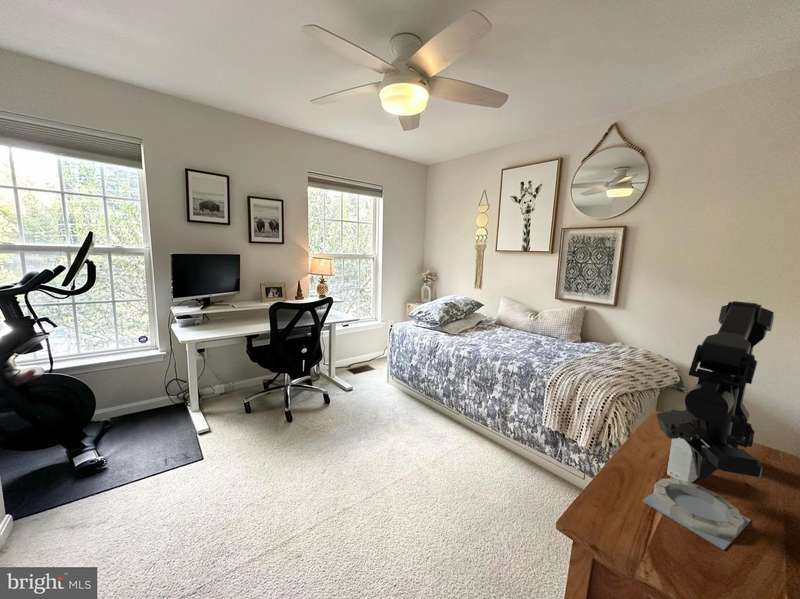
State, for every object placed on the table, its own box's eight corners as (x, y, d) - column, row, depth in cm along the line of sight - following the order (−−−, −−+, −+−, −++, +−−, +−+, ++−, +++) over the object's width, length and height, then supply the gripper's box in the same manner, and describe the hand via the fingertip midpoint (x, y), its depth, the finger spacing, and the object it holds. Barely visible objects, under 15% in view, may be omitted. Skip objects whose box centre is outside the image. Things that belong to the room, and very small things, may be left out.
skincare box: (688, 486, 75) (697, 437, 73) (665, 474, 78) (672, 427, 77) (699, 477, 78) (708, 430, 76) (676, 466, 82) (684, 421, 80)
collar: (671, 479, 76) (672, 472, 76) (750, 520, 65) (752, 512, 64) (642, 499, 70) (643, 490, 69) (725, 548, 58) (727, 538, 58)
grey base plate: (672, 480, 76) (672, 479, 76) (750, 521, 65) (750, 519, 65) (641, 501, 69) (642, 500, 69) (723, 550, 58) (724, 549, 58)
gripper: (645, 382, 75) (635, 444, 77) (693, 421, 57) (678, 501, 59) (703, 389, 72) (692, 453, 74) (773, 433, 54) (755, 516, 56)
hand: (700, 477), depth 66 cm, fingers closed
